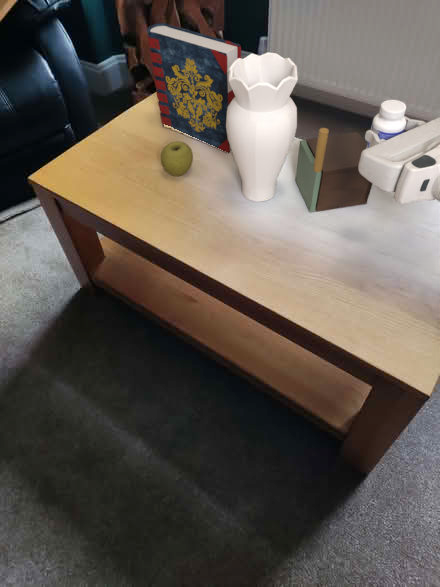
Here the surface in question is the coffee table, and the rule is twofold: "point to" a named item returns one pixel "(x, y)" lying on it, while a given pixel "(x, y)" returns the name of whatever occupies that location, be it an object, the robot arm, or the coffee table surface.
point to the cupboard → (341, 172)
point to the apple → (176, 158)
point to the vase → (261, 120)
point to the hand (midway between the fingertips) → (383, 127)
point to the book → (193, 81)
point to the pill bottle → (389, 120)
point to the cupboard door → (311, 169)
